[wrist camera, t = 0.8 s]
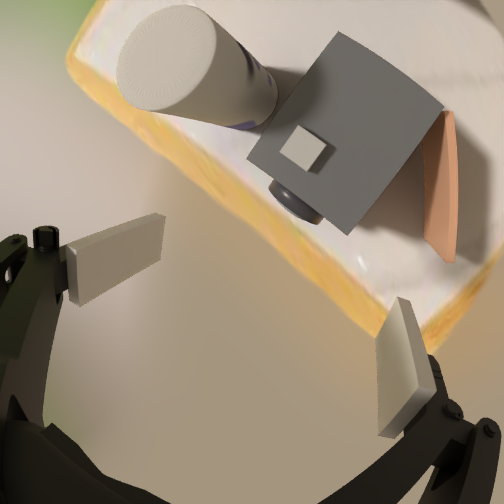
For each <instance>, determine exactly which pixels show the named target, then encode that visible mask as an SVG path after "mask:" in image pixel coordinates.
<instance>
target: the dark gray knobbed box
mask: <svg viewBox="0 0 504 504" xmlns="http://www.w3.org/2000/svg"><path fill="white" fill-rule="evenodd" d="M443 108H444V106H443V105H442V104H441V103H440V102H439V101H437V100H436V99H435V98H434V97H433V96H432V95H430V94H429V93H428V92H427V91H426V90H424V89H423V88H422V87H421V86H419V85H418V84H417V83H416V82H414V81H413V80H412V79H411V78H409V77H408V76H407V75H405V74H404V73H403V72H401V71H400V70H399V69H397V68H396V67H394V66H393V65H392V64H390V63H389V62H387V61H386V60H384V59H383V58H381V57H380V56H378V55H377V54H375V53H374V52H372V51H371V50H369V49H368V48H366V47H364V46H363V45H361V44H359V43H358V42H356V41H354V40H353V39H351V38H349V37H348V36H346V35H344V34H342V33H341V32H339V31H338V33H337V34H336V35H335V36H334V38H333V39H332V40H331V41H330V43H329V44H328V45H327V46H326V48H325V49H324V50H323V52H322V53H321V54H320V56H319V57H318V58H317V59H316V61H315V62H314V63H313V65H312V66H311V67H310V69H309V70H308V71H307V73H306V74H305V75H304V77H303V78H302V79H301V81H300V82H299V83H298V85H297V86H296V88H295V89H294V90H293V92H292V93H291V94H290V96H289V97H288V99H287V100H286V101H285V103H284V104H283V106H282V107H281V108H280V110H279V111H278V113H277V114H276V116H275V117H274V118H273V120H272V121H271V123H270V124H269V126H268V127H267V128H266V130H265V131H264V133H263V134H262V136H261V137H260V139H259V140H258V142H257V143H256V145H255V146H254V148H253V149H252V151H251V152H250V154H249V155H248V157H247V158H246V159H247V160H249V161H250V162H251V163H253V164H254V165H256V166H257V167H258V168H260V169H261V170H263V171H264V172H265V173H267V174H268V175H269V176H271V177H272V178H274V180H273V181H272V183H271V184H270V185H269V190H270V192H271V193H272V195H273V196H274V197H275V198H276V199H277V201H278V202H279V203H280V204H281V205H282V206H283V207H284V208H285V209H286V210H287V211H289V212H290V213H291V214H293V215H294V216H296V217H298V218H300V219H302V220H306V221H307V222H309V223H312V224H315V225H318V224H319V223H320V222H321V221H322V219H323V218H324V217H325V218H326V219H327V220H328V221H330V222H331V223H332V224H333V225H335V226H336V227H337V228H338V229H339V230H341V231H342V232H343V233H344V234H346V235H347V236H348V234H349V233H350V232H351V231H352V230H353V228H354V227H355V226H356V225H357V223H358V222H359V221H360V220H361V219H362V217H363V216H364V215H365V214H366V212H367V211H368V210H369V209H370V207H371V206H372V205H373V204H374V202H375V201H376V200H377V198H378V197H379V196H380V195H381V193H382V192H383V191H384V189H385V188H386V187H387V186H388V184H389V183H390V182H391V180H392V179H393V178H394V176H395V175H396V174H397V172H398V171H399V170H400V168H401V167H402V166H403V164H404V163H405V162H406V160H407V159H408V158H409V156H410V155H411V154H412V152H413V151H414V149H415V148H416V147H417V145H418V144H419V143H420V141H421V140H422V138H423V137H424V136H425V134H426V133H427V131H428V130H429V128H430V127H431V126H432V124H433V123H434V121H435V120H436V118H437V117H438V115H439V114H440V112H441V111H442V110H443Z"/></svg>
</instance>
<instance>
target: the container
mask: <svg viewBox="0 0 504 504" xmlns="http://www.w3.org/2000/svg"><path fill="white" fill-rule="evenodd" d="M117 83H118V87H119V90H120V92H121V94H122V96H123V97H124V99H125V100H126V101H127V102H128V103H129V104H131V105H132V106H134V107H136V108H138V109H141V110H146V111H152V112H158V113H163V114H169V115H174V116H179V117H184V118H189V119H194V120H198V121H203V122H207V123H212V124H216V125H220V126H224V127H228V128H232V129H238V130H244V129H250V128H253V127H256V126H258V125H260V124H261V123H263V122H264V121H265V120H266V119H267V118H268V117H269V116H270V115H271V114H272V112H273V111H274V109H275V106H276V104H277V99H278V89H277V85H276V82H275V80H274V78H273V77H272V75H271V74H270V73H269V72H268V71H267V70H266V69H265V68H264V67H263V66H262V65H261V64H260V63H259V62H258V61H257V60H256V59H255V58H254V57H253V56H252V55H251V54H250V53H249V52H248V51H247V50H246V49H245V48H244V47H243V46H242V45H241V44H240V43H239V42H238V41H236V40H235V39H234V38H233V37H232V36H231V35H230V34H229V33H228V32H227V31H226V30H225V29H224V28H222V27H221V26H220V25H219V24H218V23H217V22H216V21H215V20H213V19H212V18H211V17H210V16H209V15H208V14H206V13H205V12H204V11H202V10H201V9H199V8H196V7H194V6H189V5H175V6H170V7H166V8H163V9H161V10H159V11H157V12H155V13H153V14H151V15H150V16H148V17H147V18H146V19H144V20H143V21H142V22H141V23H140V24H139V25H138V26H137V27H136V28H135V29H134V30H133V31H132V33H131V34H130V35H129V37H128V38H127V40H126V42H125V43H124V45H123V48H122V50H121V52H120V55H119V59H118V64H117Z"/></svg>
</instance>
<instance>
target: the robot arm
mask: <svg viewBox="0 0 504 504" xmlns="http://www.w3.org/2000/svg"><path fill="white" fill-rule="evenodd" d="M165 218H166V216H163V215H161V214H158V213H153V214H150V215H147V216H144V217H141V218H138V219H135V220H132V221H129V222H126V223H123V224H120V225H117V226H114V227H112V228H109V229H106V230H103V231H100V232H97V233H95V234H92V235H89V236H87V237H84V238H82V239H79V240H76V241H73V242H71V243H68V244H66V245H64V246H61V247H59V229H58V228H57V227H54V226H40V227H38V228H35V229H34V230H33V243H34V248H31V247H28V245H27V237H26V236H24V235H19V234H14V235H12V236H9V237H7V238H6V239H4V240H3V241H1V242H0V504H170V503H168V502H166V501H164V500H163V499H161V498H159V497H157V496H155V495H153V494H151V493H150V492H148V491H146V490H143V489H140V488H137V487H134V486H132V485H129V484H126V483H123V482H121V481H118V480H115V479H113V478H110V477H108V476H106V475H104V474H103V473H101V471H100V470H99V469H98V468H97V467H96V466H95V465H94V464H93V463H92V461H91V460H90V459H89V458H88V457H87V455H86V454H85V453H84V452H83V450H82V449H81V448H80V447H79V445H78V444H77V443H75V442H74V441H73V440H71V438H69V437H68V436H67V435H66V434H64V433H63V432H62V431H61V430H60V429H59V428H57V426H55V425H54V424H53V423H51V424H50V425H49V426H48V427H47V428H46V427H44V423H43V417H42V412H43V402H44V393H45V385H46V378H47V372H48V366H49V360H50V354H51V349H52V344H53V339H54V334H55V330H56V325H57V321H58V317H59V313H60V309H61V305H62V301H63V291H65V290H67V289H68V292H69V300H70V301H71V302H73V303H74V304H76V305H77V306H79V307H81V306H83V305H84V304H86V303H87V302H89V301H91V300H92V299H94V298H96V297H97V296H99V295H100V294H102V293H104V292H106V291H107V290H109V289H111V288H112V287H114V286H116V285H118V284H119V283H121V282H123V281H124V280H126V279H128V278H130V277H131V276H133V275H134V274H136V273H138V272H140V271H141V270H143V269H145V268H147V267H149V266H150V265H152V264H154V263H156V262H157V261H159V260H160V257H161V249H162V241H163V233H164V224H165ZM7 270H8V276H9V280H8V281H6V280H5V273H6V271H7ZM375 344H376V359H377V381H378V436H382V437H387V438H392V439H395V438H396V437H397V436H398V435H399V434H400V433H401V432H402V431H403V430H404V437H403V438H401V439H400V440H399V441H398V442H397V443H396V444H395V445H394V446H393V447H392V448H391V449H389V450H388V451H387V452H386V453H385V454H384V455H383V456H381V457H380V458H379V459H378V460H377V461H376V462H374V463H373V464H372V465H371V466H370V467H368V468H367V469H366V470H364V471H363V472H362V473H361V474H359V475H358V476H357V477H355V478H354V479H353V480H351V481H350V482H349V483H347V484H346V485H345V486H343V487H342V488H340V489H339V490H338V491H336V492H335V493H333V494H332V495H330V496H329V497H327V498H326V499H324V500H322V501H321V502H319V503H318V504H397V503H398V502H399V501H400V500H401V499H402V498H403V497H404V495H405V494H406V493H407V492H408V491H409V490H410V489H411V488H412V487H413V486H414V485H415V483H416V482H417V481H418V480H419V479H420V478H421V477H422V475H423V474H424V473H425V472H426V471H427V469H428V468H429V467H430V466H431V465H433V466H435V468H434V470H433V473H432V475H431V477H430V480H429V482H428V484H427V486H426V488H425V491H424V493H423V495H422V497H421V499H420V501H419V503H418V504H490V500H491V496H492V492H493V487H494V482H495V477H496V472H497V466H498V460H499V453H500V445H501V431H500V429H499V426H498V425H497V423H496V422H495V421H493V420H492V419H490V418H482V419H480V421H479V422H478V423H477V424H476V425H474V424H472V423H470V422H468V421H466V420H464V419H463V418H464V416H463V411H462V409H461V407H460V406H459V405H458V404H457V403H456V402H454V401H453V400H451V399H449V398H448V394H447V390H446V387H445V383H444V380H443V376H442V374H441V370H440V366H439V364H438V362H437V361H436V359H435V358H434V356H432V355H429V354H427V352H426V348H425V345H424V342H423V339H422V335H421V332H420V329H419V326H418V323H417V320H416V317H415V314H414V311H413V309H412V306H411V303H410V301H408V300H405V299H403V298H400V297H397V298H396V300H395V302H394V304H393V306H392V308H391V310H390V312H389V314H388V316H387V318H386V320H385V322H384V324H383V326H382V328H381V330H380V332H379V333H378V335H377V337H376V339H375Z"/></svg>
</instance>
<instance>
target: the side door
mask: <svg viewBox="0 0 504 504" xmlns="http://www.w3.org/2000/svg"><path fill="white" fill-rule="evenodd" d="M422 144H423V158H424V183H425V216H424V239H425V240H426V241H427V242H428V243H429V244H430V245H431V247H432V248H433V249H434V250H435V251H436V252H437V253H438V254H439V255H440V257H441V258H442V259H443V260H444V261H445V262H446V263H454V259H455V250H456V238H457V223H458V159H457V144H456V132H455V123H454V115H453V112H452V111H443V112H441V113H440V114H439V115H438V117H437V118H436V120H435V121H434V123H433V124H432V126H431V127H430V128H429V130H428V131H427V133H426V134H425V136H424V137H423V138H422Z"/></svg>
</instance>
